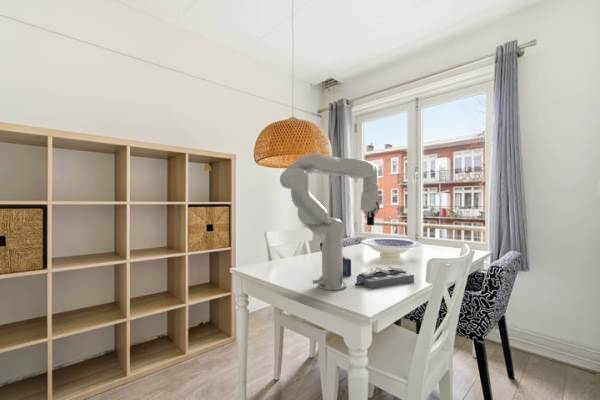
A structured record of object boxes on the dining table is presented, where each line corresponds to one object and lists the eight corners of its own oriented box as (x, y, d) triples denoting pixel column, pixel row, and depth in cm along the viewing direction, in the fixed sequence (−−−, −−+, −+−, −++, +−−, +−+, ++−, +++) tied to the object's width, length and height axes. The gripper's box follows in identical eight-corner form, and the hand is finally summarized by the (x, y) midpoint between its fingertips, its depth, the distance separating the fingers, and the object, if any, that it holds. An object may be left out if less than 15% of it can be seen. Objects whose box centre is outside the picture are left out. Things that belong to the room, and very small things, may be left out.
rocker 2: (380, 271, 131) (380, 268, 131) (375, 269, 135) (376, 266, 135) (389, 274, 133) (390, 271, 134) (384, 272, 137) (385, 269, 137)
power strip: (362, 290, 121) (362, 280, 121) (349, 284, 130) (349, 275, 130) (414, 281, 133) (413, 273, 133) (399, 276, 142) (398, 268, 142)
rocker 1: (366, 276, 128) (365, 274, 128) (361, 274, 131) (361, 272, 131) (376, 272, 130) (376, 269, 130) (371, 270, 134) (371, 267, 134)
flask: (333, 275, 146) (333, 255, 146) (334, 273, 148) (334, 254, 148) (350, 276, 143) (350, 256, 143) (351, 275, 145) (351, 255, 145)
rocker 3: (393, 269, 134) (393, 267, 134) (388, 268, 138) (388, 265, 138) (402, 271, 137) (403, 269, 137) (397, 270, 140) (397, 267, 140)
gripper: (355, 189, 145) (355, 224, 145) (373, 188, 131) (373, 226, 131) (367, 189, 147) (367, 223, 148) (386, 188, 134) (386, 225, 134)
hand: (370, 224), depth 139 cm, fingers closed
